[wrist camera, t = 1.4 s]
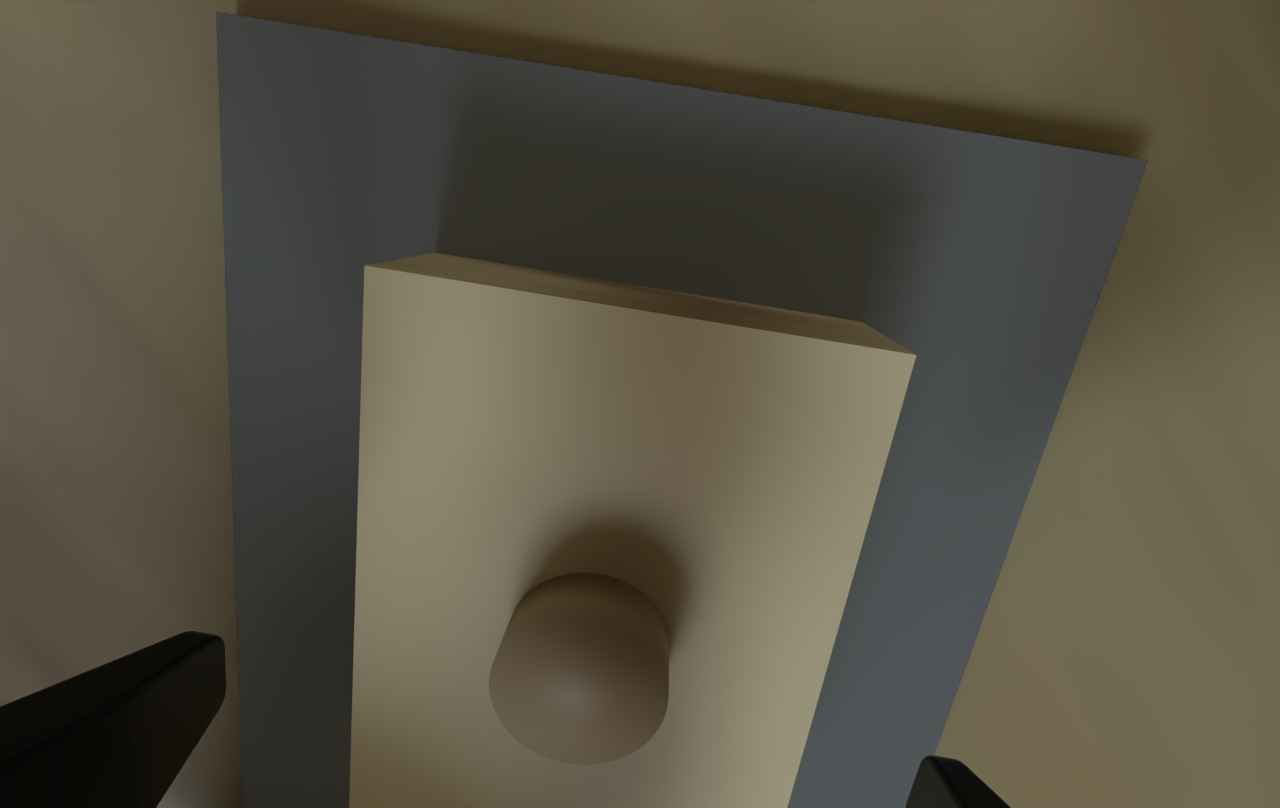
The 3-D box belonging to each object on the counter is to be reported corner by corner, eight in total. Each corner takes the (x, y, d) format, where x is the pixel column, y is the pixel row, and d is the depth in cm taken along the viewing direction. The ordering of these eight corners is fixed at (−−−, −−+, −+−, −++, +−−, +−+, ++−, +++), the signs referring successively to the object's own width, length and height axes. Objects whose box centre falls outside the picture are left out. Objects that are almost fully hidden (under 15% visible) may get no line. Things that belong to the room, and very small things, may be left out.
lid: (406, 741, 13) (316, 917, 10) (435, 252, 11) (322, 272, 7) (739, 797, 13) (761, 993, 10) (862, 321, 11) (948, 374, 7)
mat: (255, 806, 15) (243, 822, 14) (233, 19, 10) (216, 11, 10) (866, 910, 15) (871, 928, 14) (1130, 162, 10) (1147, 160, 10)
